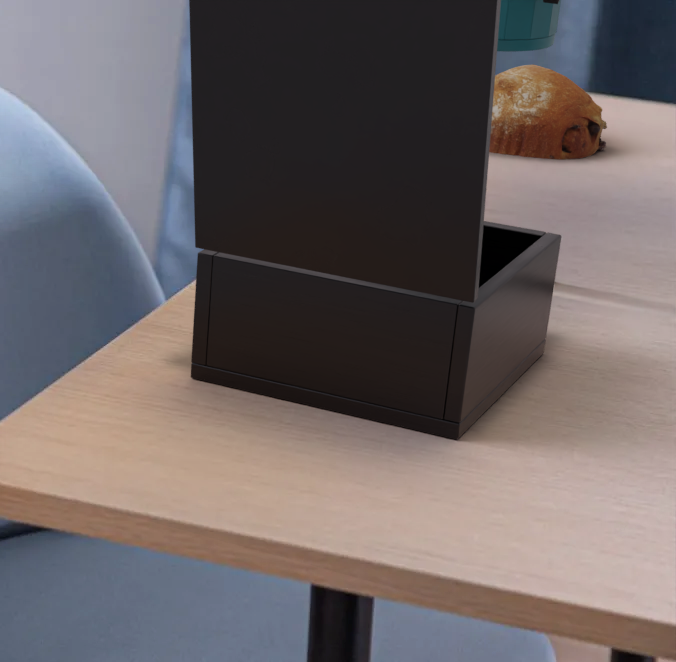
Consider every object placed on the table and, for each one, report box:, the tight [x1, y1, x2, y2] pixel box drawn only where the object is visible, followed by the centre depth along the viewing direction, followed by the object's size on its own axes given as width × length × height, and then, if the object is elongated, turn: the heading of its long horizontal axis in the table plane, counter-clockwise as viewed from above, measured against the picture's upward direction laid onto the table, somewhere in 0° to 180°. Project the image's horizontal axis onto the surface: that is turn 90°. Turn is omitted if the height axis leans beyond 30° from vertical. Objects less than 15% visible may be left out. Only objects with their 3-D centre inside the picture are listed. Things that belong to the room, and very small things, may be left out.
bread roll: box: [489, 64, 608, 160], centre depth 128 cm, size 10×10×8 cm
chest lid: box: [188, 0, 501, 303], centre depth 76 cm, size 14×14×1 cm
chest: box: [190, 220, 562, 440], centre depth 87 cm, size 14×14×6 cm
